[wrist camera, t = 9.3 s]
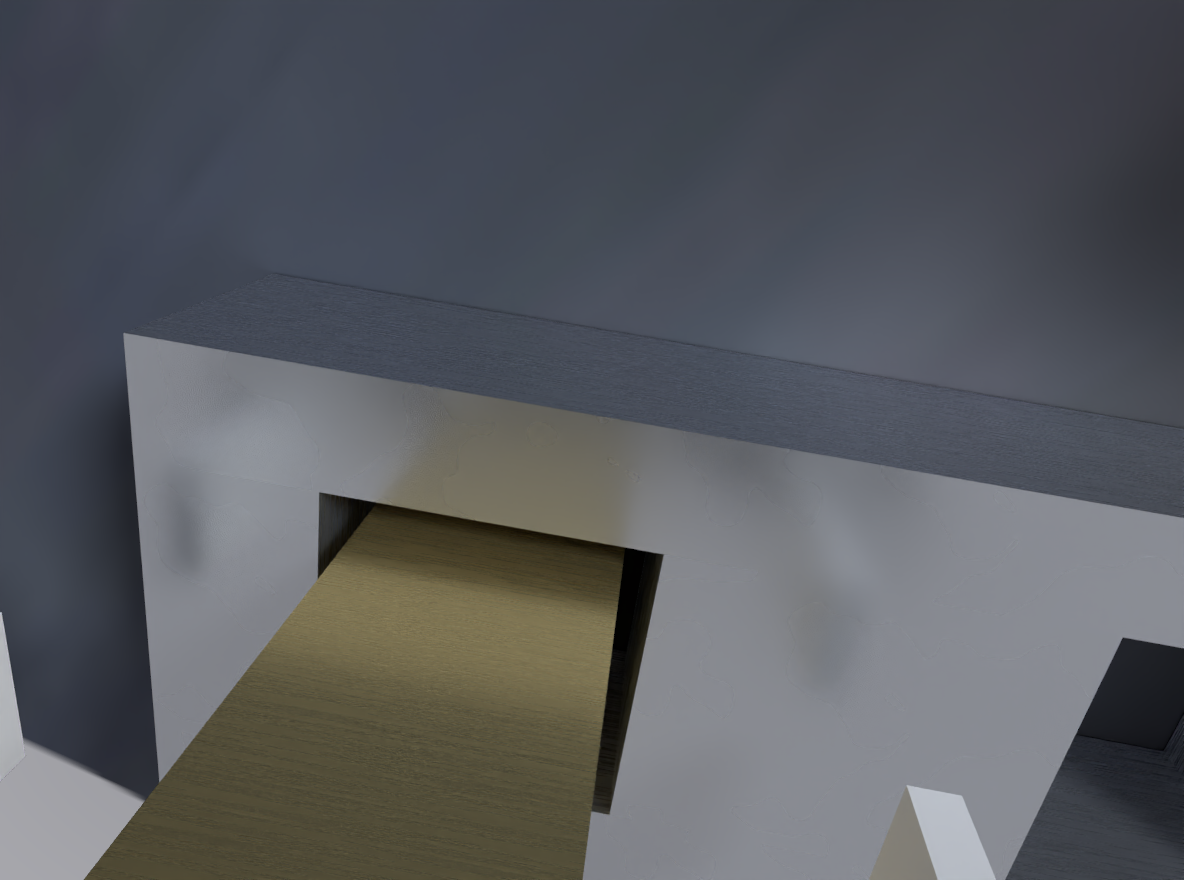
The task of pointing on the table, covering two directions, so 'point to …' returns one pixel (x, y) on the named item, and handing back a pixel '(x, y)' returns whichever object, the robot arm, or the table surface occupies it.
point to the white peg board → (697, 566)
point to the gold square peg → (403, 719)
